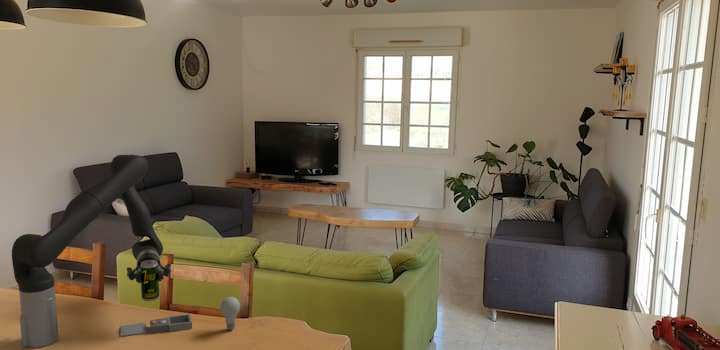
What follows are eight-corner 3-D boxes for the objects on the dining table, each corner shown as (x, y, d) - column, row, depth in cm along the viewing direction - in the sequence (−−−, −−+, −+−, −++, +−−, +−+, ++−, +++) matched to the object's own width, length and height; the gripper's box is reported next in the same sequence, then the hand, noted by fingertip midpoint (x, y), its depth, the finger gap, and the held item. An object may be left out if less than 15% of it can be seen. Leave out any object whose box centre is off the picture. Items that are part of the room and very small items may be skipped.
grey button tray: (150, 334, 174) (150, 326, 173) (150, 325, 180) (149, 317, 180) (192, 328, 179) (191, 320, 178) (189, 320, 185) (189, 312, 185)
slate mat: (120, 337, 172) (120, 335, 172) (120, 327, 179) (120, 326, 179) (146, 333, 175) (146, 332, 175) (145, 323, 182) (145, 322, 182)
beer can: (140, 296, 177) (139, 260, 175) (158, 294, 180) (156, 258, 178) (142, 302, 173) (140, 265, 171) (160, 299, 175) (159, 263, 173)
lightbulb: (243, 326, 181) (242, 294, 179) (237, 334, 175) (236, 301, 173) (224, 325, 182) (224, 293, 180) (218, 333, 176) (217, 300, 174)
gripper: (125, 254, 185) (124, 270, 169) (170, 250, 190) (173, 265, 175) (126, 275, 186) (125, 293, 171) (171, 271, 191) (174, 288, 176)
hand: (149, 279), depth 173 cm, fingers closed on beer can, 5 cm apart
